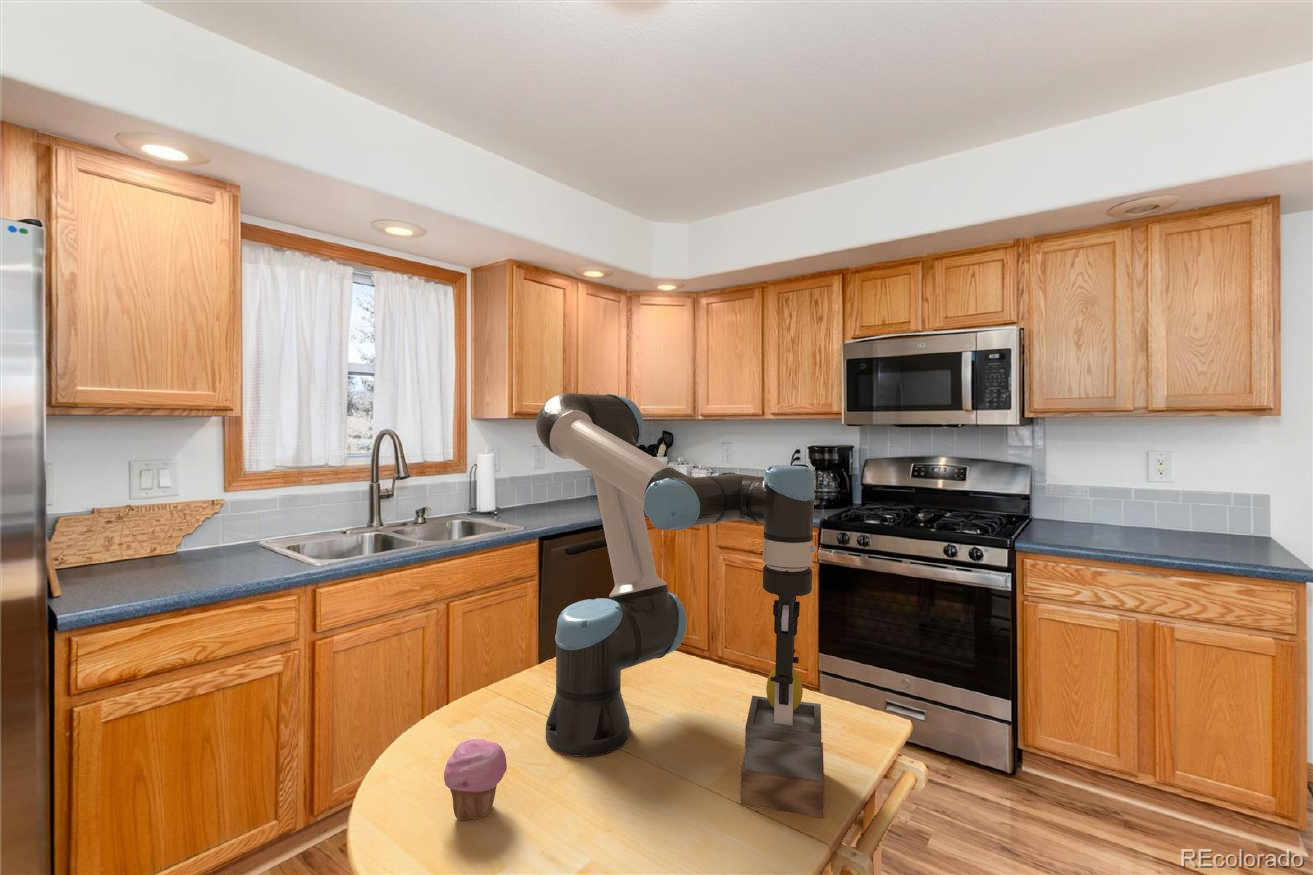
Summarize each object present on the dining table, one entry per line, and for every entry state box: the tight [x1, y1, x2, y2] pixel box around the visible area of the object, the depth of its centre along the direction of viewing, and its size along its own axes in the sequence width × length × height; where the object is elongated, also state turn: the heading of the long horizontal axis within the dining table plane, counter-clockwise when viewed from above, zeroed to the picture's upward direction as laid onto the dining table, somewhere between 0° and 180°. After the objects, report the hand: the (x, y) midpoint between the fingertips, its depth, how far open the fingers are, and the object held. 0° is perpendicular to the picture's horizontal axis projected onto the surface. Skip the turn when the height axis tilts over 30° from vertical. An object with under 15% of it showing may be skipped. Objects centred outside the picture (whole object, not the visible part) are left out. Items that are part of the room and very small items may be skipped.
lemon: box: [765, 667, 803, 711], centre depth 97 cm, size 6×6×8 cm
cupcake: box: [443, 738, 508, 821], centre depth 90 cm, size 9×9×10 cm
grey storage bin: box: [739, 695, 825, 819], centre depth 97 cm, size 12×12×12 cm
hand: (784, 713), depth 97 cm, fingers closed on lemon, 5 cm apart
